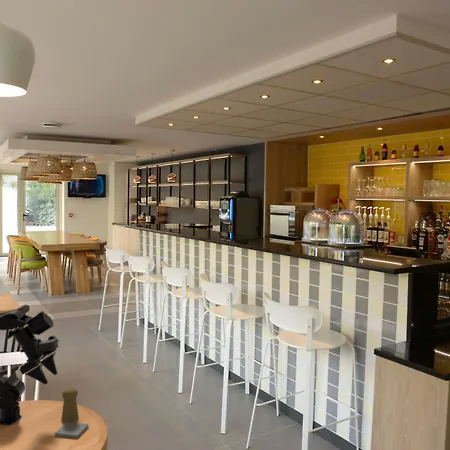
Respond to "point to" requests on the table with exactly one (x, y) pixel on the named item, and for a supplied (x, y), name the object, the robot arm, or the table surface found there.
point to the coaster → (71, 430)
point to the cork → (70, 406)
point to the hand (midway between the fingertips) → (51, 378)
